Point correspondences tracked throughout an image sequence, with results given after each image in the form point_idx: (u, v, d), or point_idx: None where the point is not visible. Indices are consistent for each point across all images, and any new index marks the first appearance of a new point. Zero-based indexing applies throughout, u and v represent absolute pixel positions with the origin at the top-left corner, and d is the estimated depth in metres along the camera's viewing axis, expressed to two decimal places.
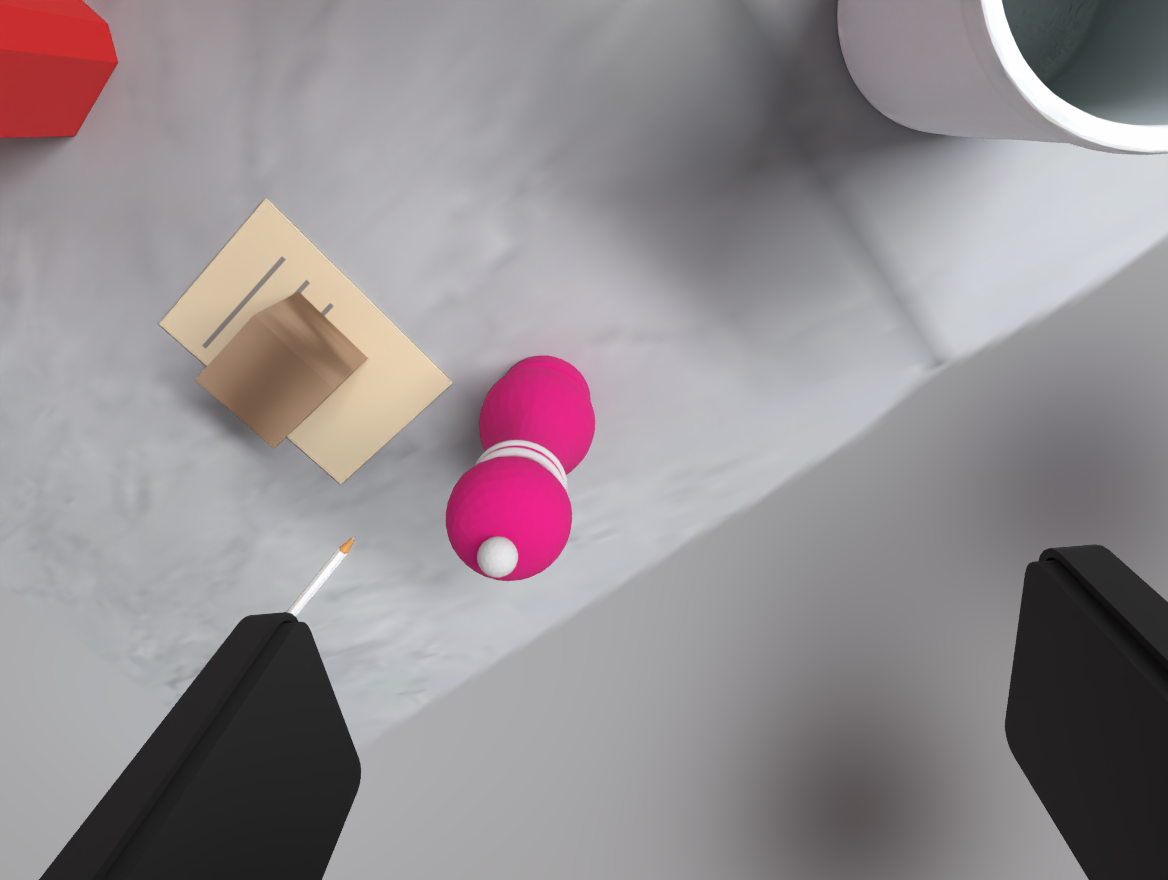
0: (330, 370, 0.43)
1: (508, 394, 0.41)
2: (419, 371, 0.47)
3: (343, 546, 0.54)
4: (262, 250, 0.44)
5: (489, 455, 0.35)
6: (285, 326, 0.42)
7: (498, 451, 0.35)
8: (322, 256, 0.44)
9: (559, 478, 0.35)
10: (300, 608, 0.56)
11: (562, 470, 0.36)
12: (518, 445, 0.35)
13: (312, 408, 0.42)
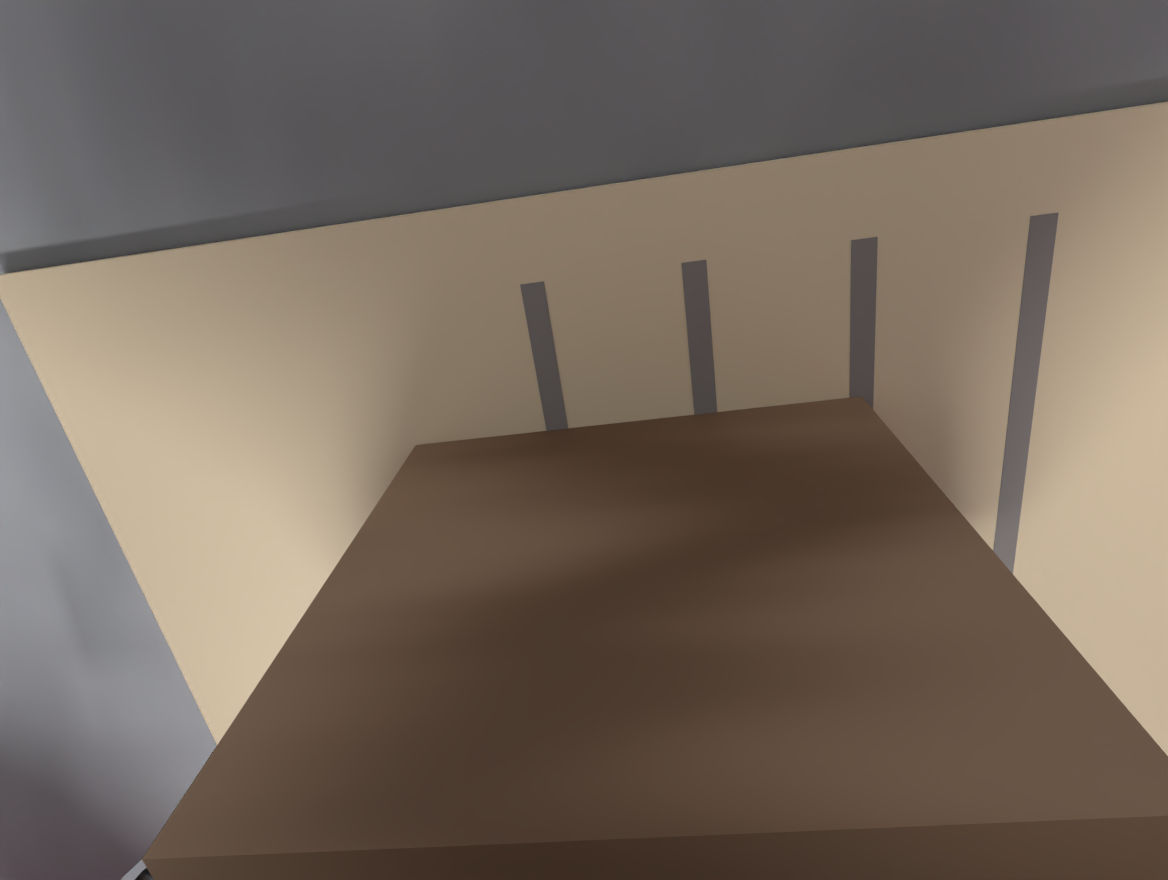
0: None
1: None
2: None
3: None
4: None
5: None
6: None
7: None
8: None
9: None
10: None
11: None
12: None
13: None
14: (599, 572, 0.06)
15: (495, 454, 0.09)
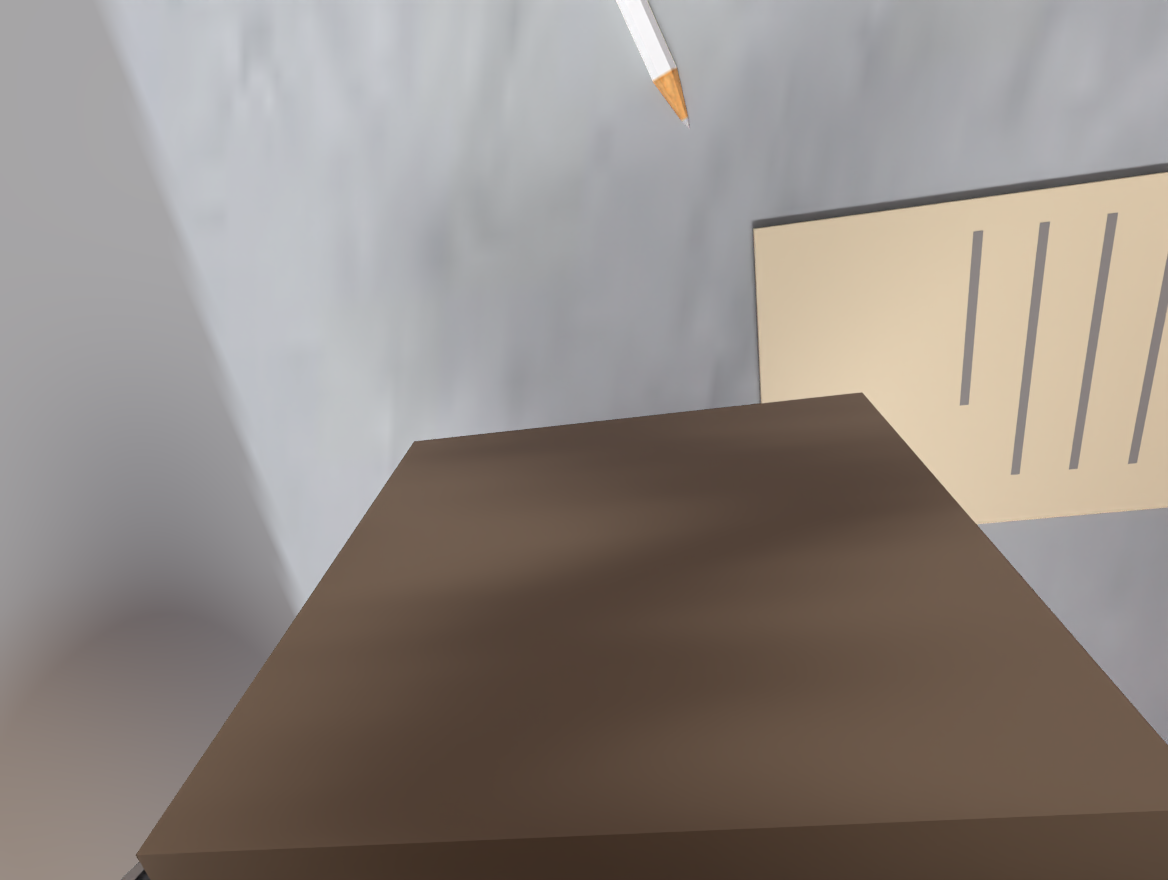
0: None
1: None
2: None
3: (677, 84, 0.21)
4: None
5: None
6: None
7: None
8: (1076, 514, 0.26)
9: None
10: None
11: None
12: None
13: None
14: (598, 567, 0.06)
15: (494, 450, 0.09)
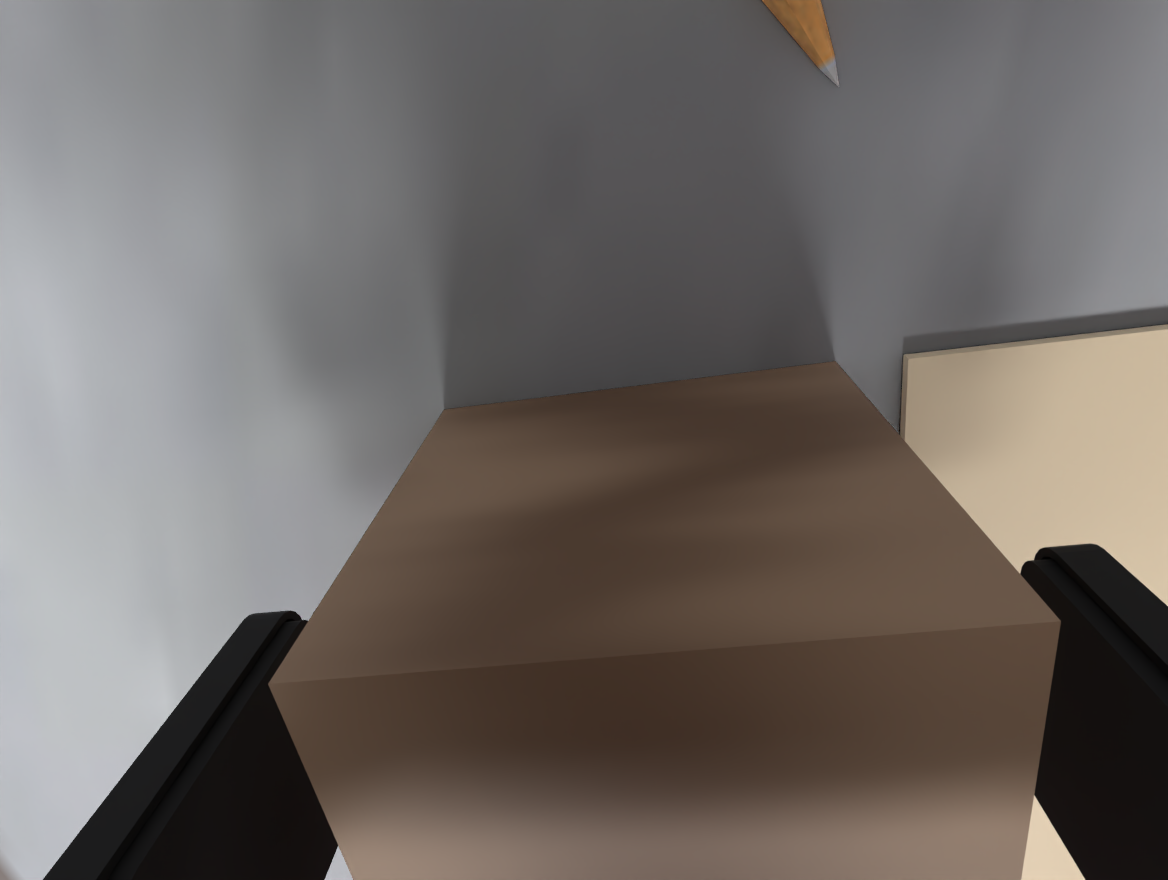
0: None
1: None
2: None
3: None
4: None
5: None
6: None
7: None
8: None
9: None
10: None
11: None
12: None
13: None
14: (609, 492, 0.08)
15: (516, 412, 0.10)
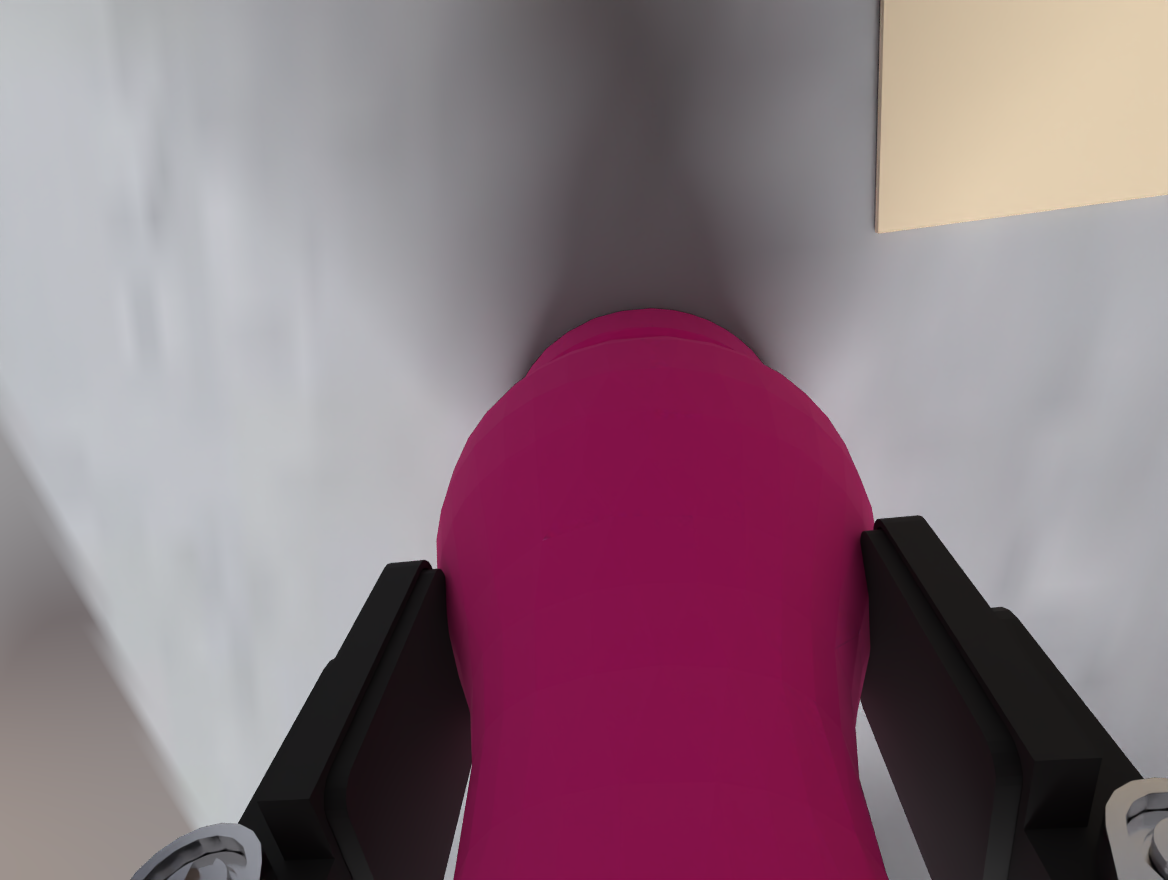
0: None
1: None
2: (993, 163, 0.13)
3: None
4: None
5: None
6: None
7: None
8: None
9: None
10: None
11: None
12: None
13: None
14: None
15: None
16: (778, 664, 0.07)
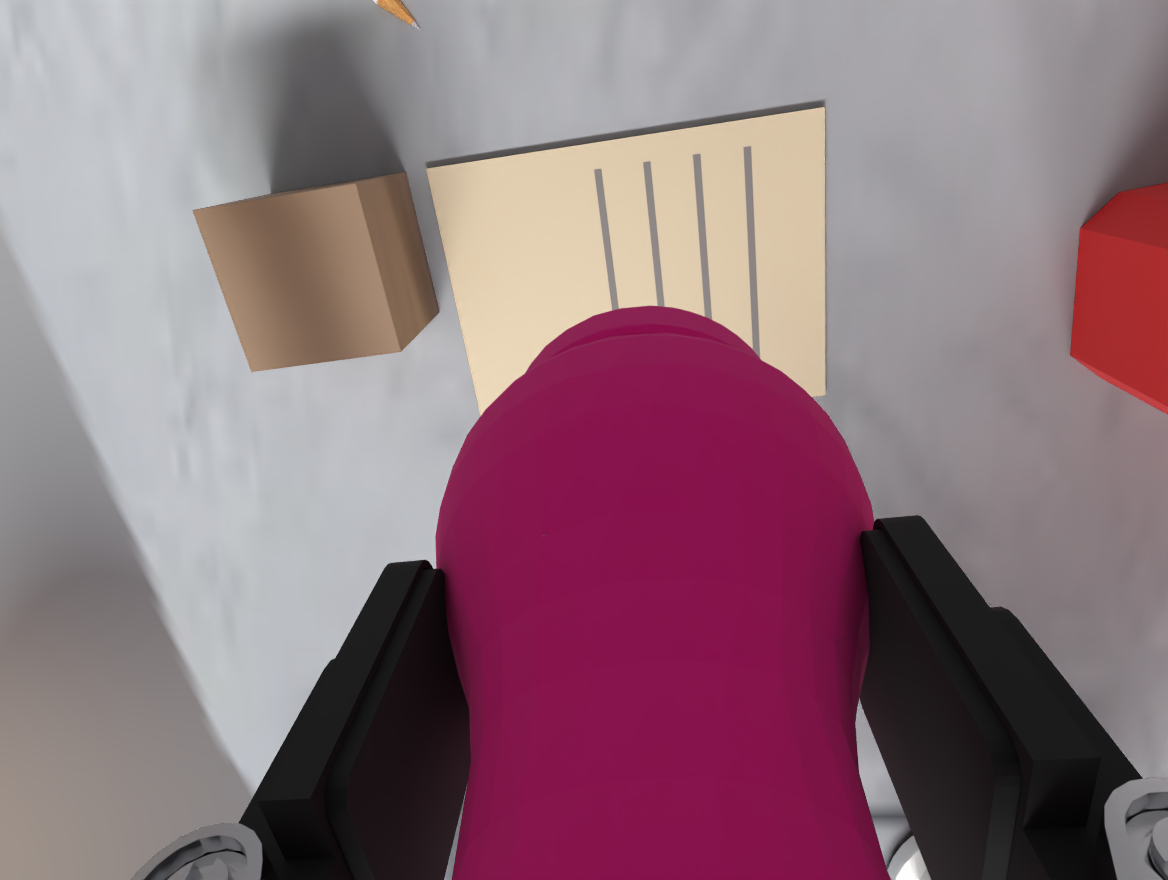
0: None
1: None
2: None
3: None
4: (784, 344, 0.31)
5: None
6: None
7: None
8: None
9: None
10: None
11: None
12: None
13: (235, 321, 0.26)
14: (297, 191, 0.26)
15: (293, 190, 0.29)
16: (778, 659, 0.07)
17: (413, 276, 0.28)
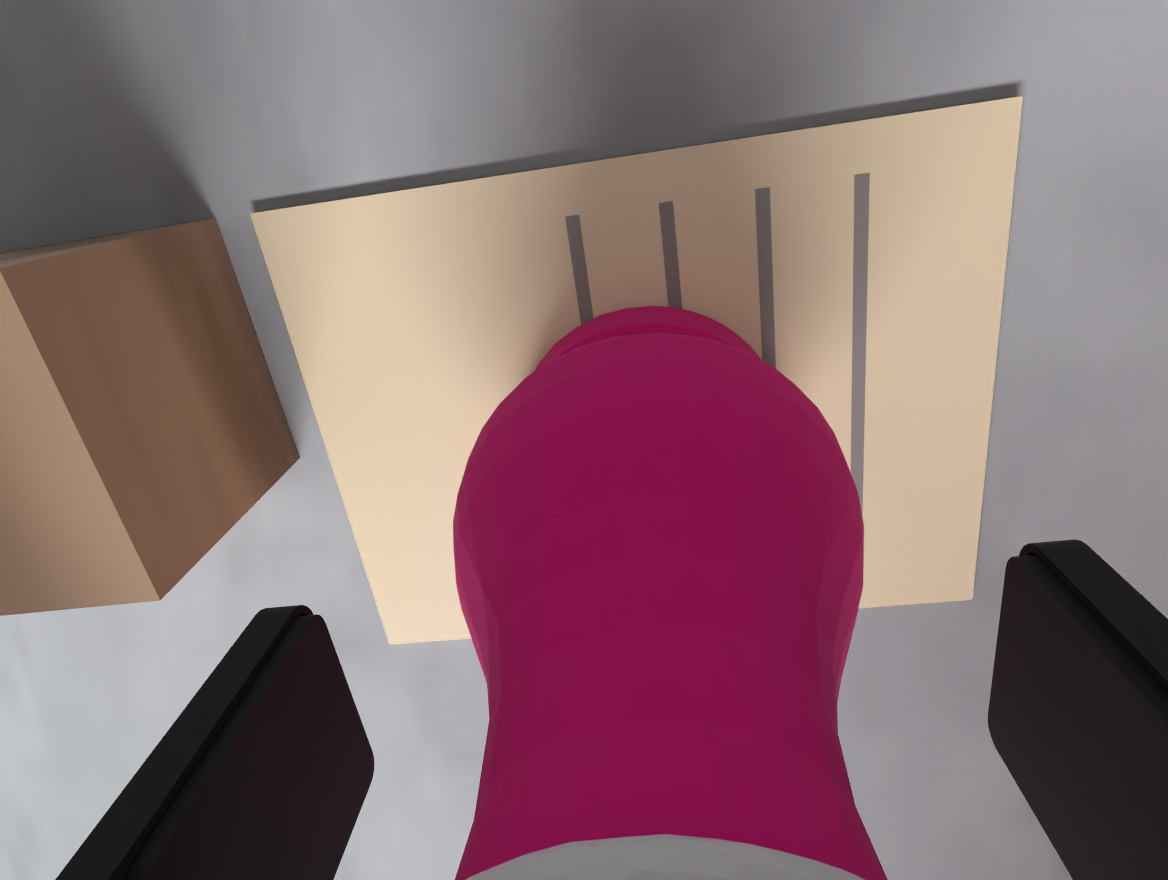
0: None
1: (852, 632, 0.11)
2: (451, 610, 0.19)
3: None
4: (906, 520, 0.17)
5: None
6: None
7: None
8: None
9: None
10: None
11: None
12: None
13: None
14: None
15: (7, 252, 0.16)
16: (762, 626, 0.07)
17: (221, 417, 0.15)
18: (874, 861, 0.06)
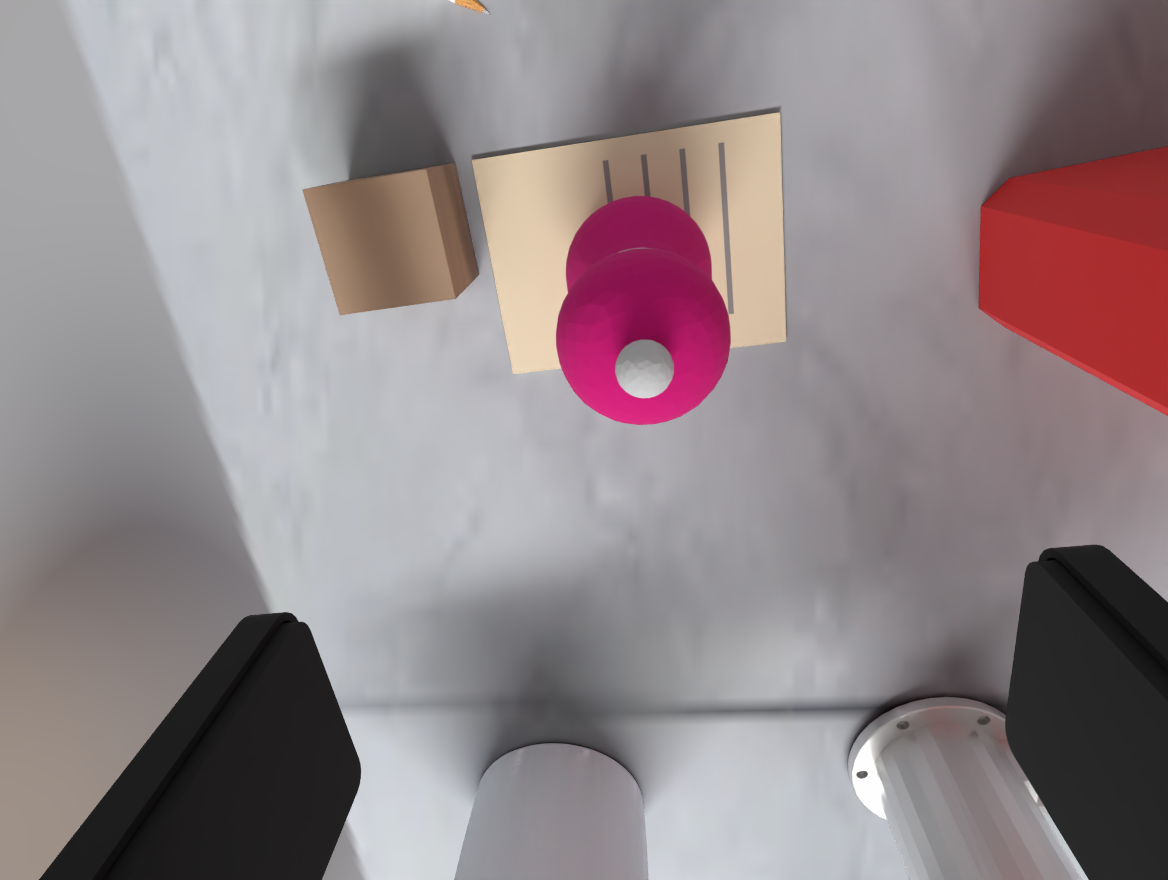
0: None
1: None
2: (544, 353, 0.41)
3: None
4: (752, 300, 0.39)
5: None
6: None
7: None
8: None
9: None
10: None
11: None
12: None
13: (329, 275, 0.34)
14: (376, 176, 0.35)
15: None
16: (665, 250, 0.29)
17: (461, 243, 0.37)
18: None
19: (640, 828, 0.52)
